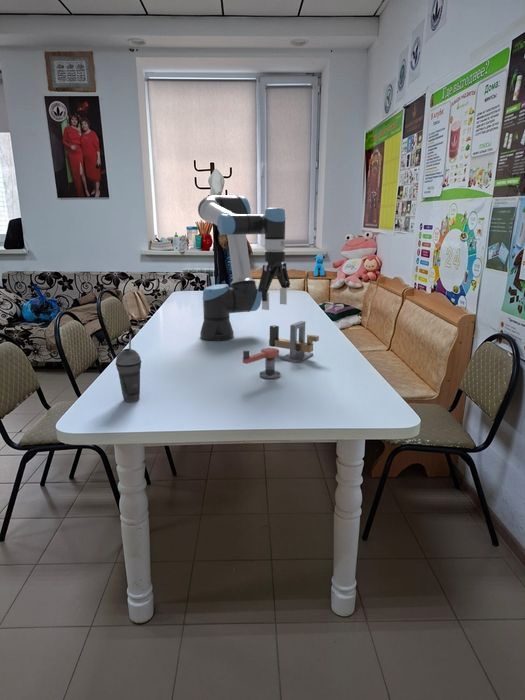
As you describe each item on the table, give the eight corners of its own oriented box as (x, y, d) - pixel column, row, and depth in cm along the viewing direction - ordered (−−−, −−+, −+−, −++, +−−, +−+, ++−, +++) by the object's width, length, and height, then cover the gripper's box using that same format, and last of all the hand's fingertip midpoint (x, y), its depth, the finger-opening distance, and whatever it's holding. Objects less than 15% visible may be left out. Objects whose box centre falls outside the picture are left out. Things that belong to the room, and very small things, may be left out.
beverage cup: (121, 395, 136) (115, 331, 131) (146, 394, 137) (141, 331, 131) (116, 404, 129) (109, 337, 124) (142, 403, 130) (136, 337, 124)
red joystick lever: (250, 365, 141) (250, 353, 140) (237, 361, 145) (237, 350, 144) (282, 355, 152) (282, 344, 151) (269, 352, 156) (269, 341, 155)
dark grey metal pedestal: (255, 376, 153) (255, 357, 151) (266, 371, 158) (266, 352, 156) (273, 380, 149) (273, 360, 147) (283, 374, 155) (284, 355, 153)
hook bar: (267, 345, 178) (267, 326, 176) (272, 343, 181) (272, 325, 179) (315, 353, 168) (315, 333, 165) (319, 351, 171) (319, 331, 168)
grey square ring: (280, 359, 171) (281, 324, 168) (295, 352, 181) (296, 319, 177) (299, 362, 167) (300, 327, 164) (313, 355, 177) (314, 321, 173)
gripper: (266, 253, 156) (266, 312, 162) (299, 249, 177) (298, 302, 182) (248, 252, 160) (248, 310, 166) (282, 249, 180) (282, 301, 186)
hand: (274, 306), depth 174 cm, fingers open, 13 cm apart
